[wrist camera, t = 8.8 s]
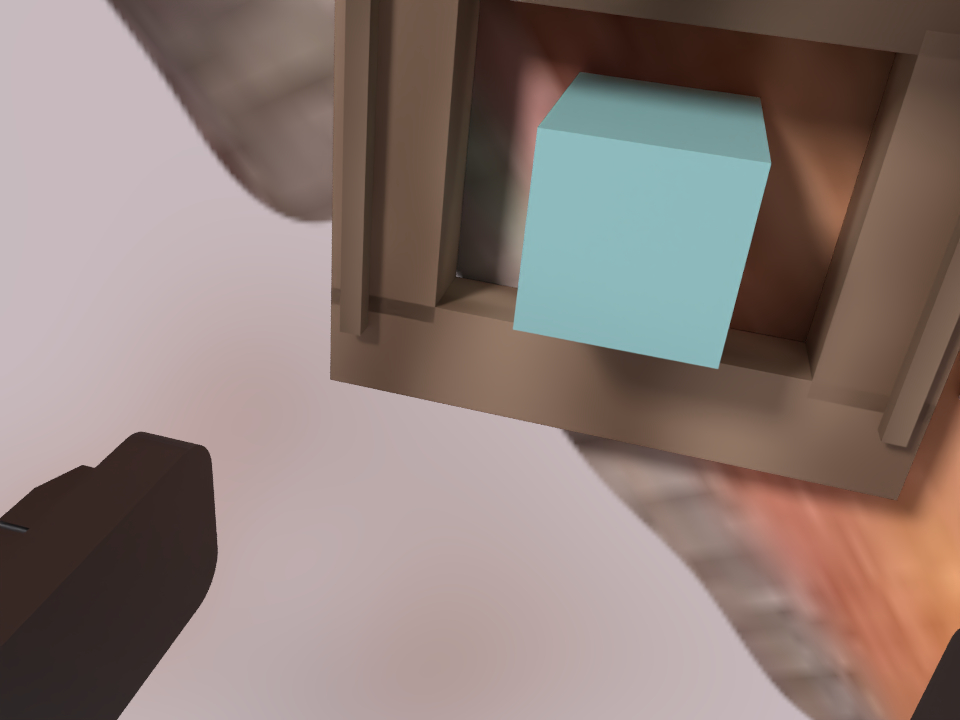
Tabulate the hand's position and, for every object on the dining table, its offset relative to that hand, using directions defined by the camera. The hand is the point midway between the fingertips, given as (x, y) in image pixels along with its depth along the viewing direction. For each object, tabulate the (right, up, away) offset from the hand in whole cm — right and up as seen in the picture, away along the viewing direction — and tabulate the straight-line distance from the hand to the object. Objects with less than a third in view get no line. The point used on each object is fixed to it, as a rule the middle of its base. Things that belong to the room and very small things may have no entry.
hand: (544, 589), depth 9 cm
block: (+4, +7, +14) cm, 16 cm away
